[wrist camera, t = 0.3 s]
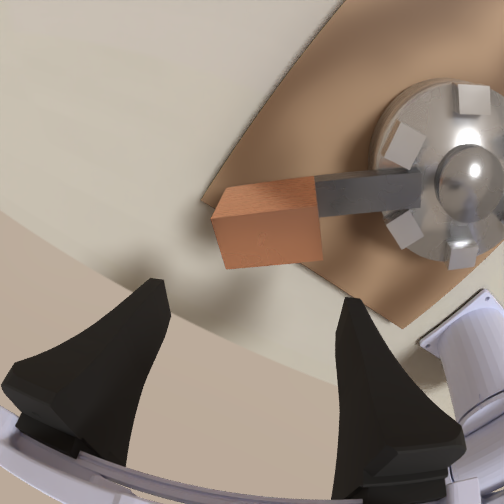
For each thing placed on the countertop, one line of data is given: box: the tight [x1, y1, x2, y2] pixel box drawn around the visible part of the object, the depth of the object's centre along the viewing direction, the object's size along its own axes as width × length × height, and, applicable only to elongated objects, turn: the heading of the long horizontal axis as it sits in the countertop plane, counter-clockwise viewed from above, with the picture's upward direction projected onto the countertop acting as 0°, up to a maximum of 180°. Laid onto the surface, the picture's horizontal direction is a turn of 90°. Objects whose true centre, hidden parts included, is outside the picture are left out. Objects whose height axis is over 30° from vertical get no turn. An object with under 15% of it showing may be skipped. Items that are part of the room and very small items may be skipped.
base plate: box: [201, 0, 504, 329], centre depth 16 cm, size 18×22×2 cm
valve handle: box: [211, 78, 504, 270], centre depth 14 cm, size 17×10×6 cm, turn 102°
